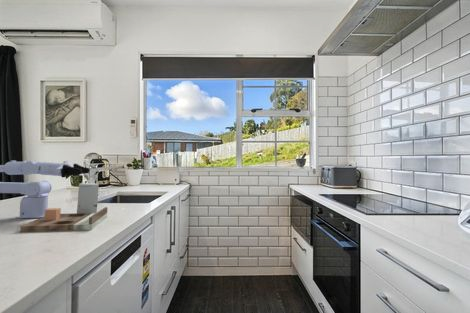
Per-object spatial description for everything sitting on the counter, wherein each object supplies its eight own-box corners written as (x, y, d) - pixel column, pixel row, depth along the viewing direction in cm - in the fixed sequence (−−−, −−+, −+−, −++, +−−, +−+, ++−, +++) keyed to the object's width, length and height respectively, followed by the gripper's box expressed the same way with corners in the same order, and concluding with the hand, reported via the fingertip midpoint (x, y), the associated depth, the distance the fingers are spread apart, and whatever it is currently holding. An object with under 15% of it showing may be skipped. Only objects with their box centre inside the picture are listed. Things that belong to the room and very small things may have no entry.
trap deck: (20, 232, 93) (20, 219, 93) (49, 218, 114) (50, 208, 114) (91, 229, 98) (92, 217, 98) (107, 217, 119) (107, 207, 119)
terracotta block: (44, 220, 102) (44, 210, 102) (49, 218, 106) (49, 208, 106) (55, 220, 103) (56, 209, 103) (60, 217, 107) (60, 208, 107)
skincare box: (76, 217, 117) (77, 184, 118) (77, 215, 123) (78, 183, 123) (97, 216, 121) (98, 183, 122) (97, 213, 127) (98, 182, 127)
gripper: (44, 160, 112) (78, 163, 113) (63, 159, 126) (92, 162, 127) (43, 177, 112) (77, 179, 113) (61, 174, 126) (91, 176, 127)
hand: (85, 171), depth 120 cm, fingers open, 7 cm apart
